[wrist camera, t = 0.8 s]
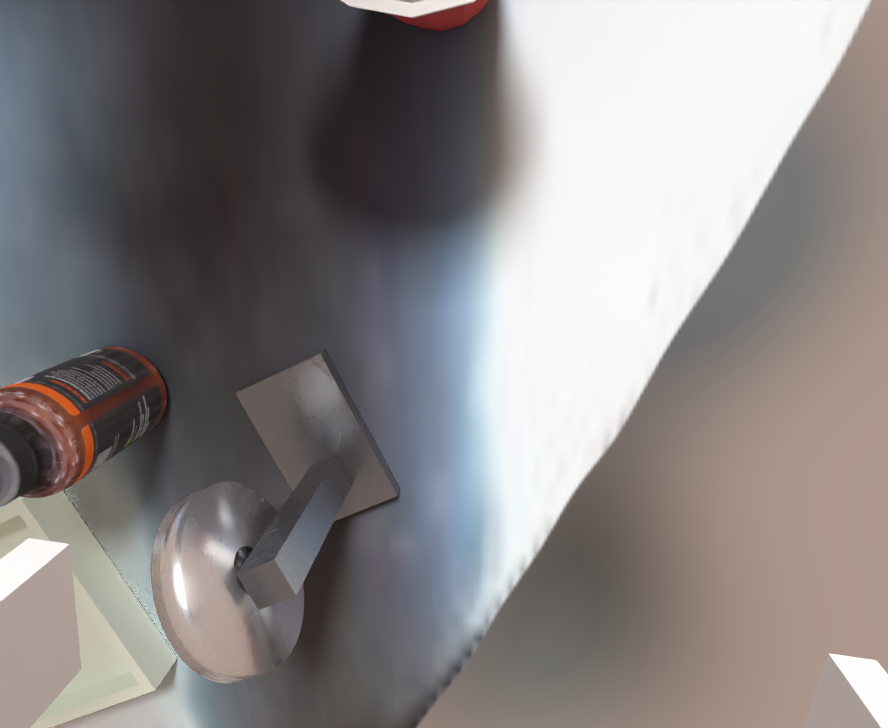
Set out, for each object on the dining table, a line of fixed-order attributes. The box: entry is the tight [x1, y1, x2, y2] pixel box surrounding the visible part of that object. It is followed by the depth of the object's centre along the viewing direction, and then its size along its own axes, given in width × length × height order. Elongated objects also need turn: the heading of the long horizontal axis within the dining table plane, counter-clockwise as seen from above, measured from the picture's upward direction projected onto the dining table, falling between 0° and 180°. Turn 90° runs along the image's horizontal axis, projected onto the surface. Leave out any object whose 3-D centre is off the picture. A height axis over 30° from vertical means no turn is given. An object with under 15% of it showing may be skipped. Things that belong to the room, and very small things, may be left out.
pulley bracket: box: [151, 350, 400, 684], centre depth 31 cm, size 12×7×14 cm, turn 26°
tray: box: [0, 491, 177, 728], centre depth 41 cm, size 16×12×3 cm
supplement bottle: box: [0, 347, 167, 507], centre depth 32 cm, size 6×6×11 cm
